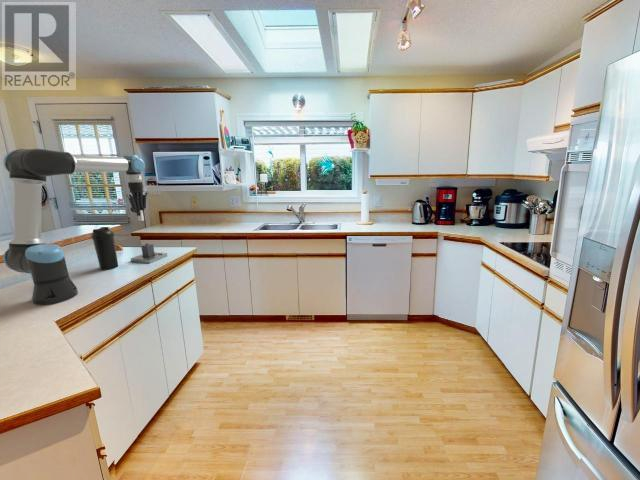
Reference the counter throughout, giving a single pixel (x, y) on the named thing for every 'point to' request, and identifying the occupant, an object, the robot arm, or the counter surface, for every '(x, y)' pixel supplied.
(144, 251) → the plug
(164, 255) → the socket
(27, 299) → the counter surface
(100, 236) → the water bottle
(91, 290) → the counter surface
